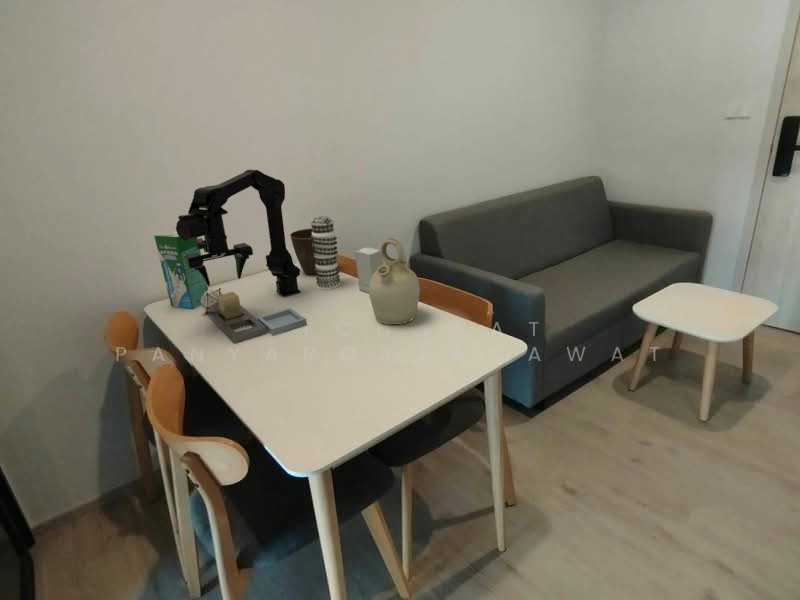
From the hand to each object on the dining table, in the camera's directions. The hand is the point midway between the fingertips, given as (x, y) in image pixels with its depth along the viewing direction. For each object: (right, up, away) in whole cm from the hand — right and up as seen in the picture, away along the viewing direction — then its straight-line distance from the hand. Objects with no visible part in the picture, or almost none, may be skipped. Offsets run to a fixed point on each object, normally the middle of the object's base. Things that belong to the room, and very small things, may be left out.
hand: (224, 282), depth 148 cm
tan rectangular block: (+1, -12, +5) cm, 13 cm away
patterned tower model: (+27, 0, +30) cm, 41 cm away
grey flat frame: (+4, -13, +1) cm, 14 cm away
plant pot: (+20, +5, +45) cm, 49 cm away
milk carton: (-19, -7, +20) cm, 29 cm away
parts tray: (+17, -13, +1) cm, 22 cm away
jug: (+52, -11, +2) cm, 53 cm away
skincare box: (+43, -2, +24) cm, 50 cm away
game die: (-7, -10, +12) cm, 17 cm away
